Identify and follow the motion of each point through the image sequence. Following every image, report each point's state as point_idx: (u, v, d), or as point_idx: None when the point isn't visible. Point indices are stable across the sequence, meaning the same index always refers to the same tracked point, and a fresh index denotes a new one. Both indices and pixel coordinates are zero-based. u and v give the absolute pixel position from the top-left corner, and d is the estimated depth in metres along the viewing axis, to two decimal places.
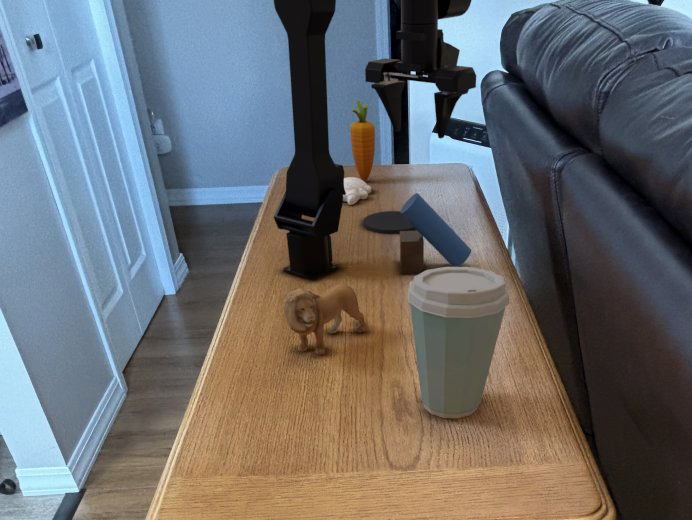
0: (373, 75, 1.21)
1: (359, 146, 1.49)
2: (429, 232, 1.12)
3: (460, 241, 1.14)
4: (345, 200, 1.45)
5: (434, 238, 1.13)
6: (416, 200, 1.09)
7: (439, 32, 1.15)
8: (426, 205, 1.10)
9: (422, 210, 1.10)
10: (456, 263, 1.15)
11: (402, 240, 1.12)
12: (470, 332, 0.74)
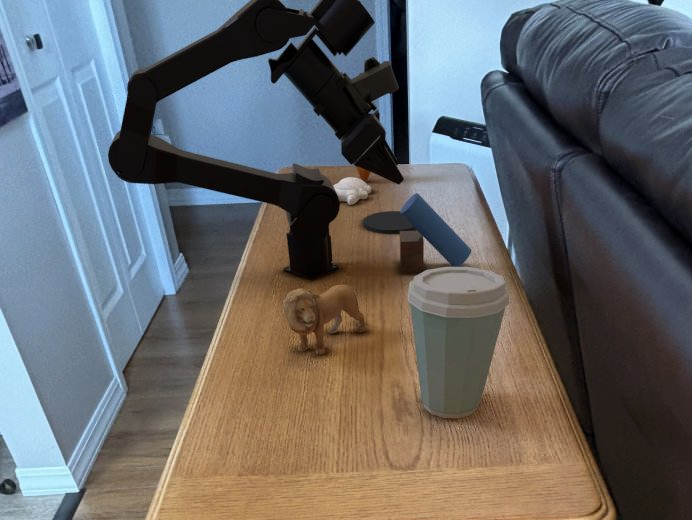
0: None
1: None
2: (429, 232, 1.12)
3: (460, 241, 1.14)
4: (345, 200, 1.45)
5: (434, 238, 1.13)
6: (416, 200, 1.09)
7: (339, 84, 0.99)
8: (426, 205, 1.10)
9: (422, 210, 1.10)
10: (456, 263, 1.15)
11: (402, 240, 1.12)
12: (470, 332, 0.74)
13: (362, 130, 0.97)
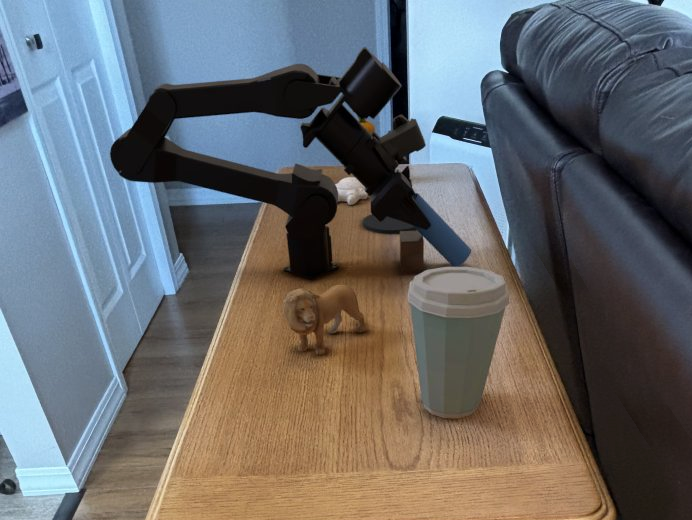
0: None
1: None
2: (429, 232, 1.12)
3: (460, 241, 1.14)
4: (345, 200, 1.45)
5: (434, 238, 1.13)
6: (416, 200, 1.09)
7: (368, 145, 1.03)
8: (426, 205, 1.10)
9: (422, 210, 1.10)
10: (456, 263, 1.15)
11: (402, 240, 1.12)
12: (470, 332, 0.74)
13: (390, 190, 1.01)
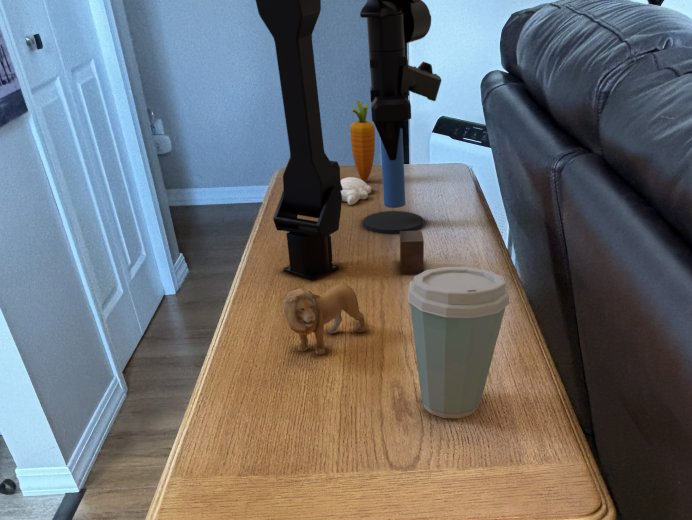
0: None
1: (359, 146, 1.49)
2: (389, 164, 1.26)
3: (403, 190, 1.30)
4: (345, 200, 1.45)
5: (389, 172, 1.27)
6: None
7: (400, 60, 1.16)
8: (402, 143, 1.25)
9: (398, 143, 1.24)
10: (390, 203, 1.30)
11: (402, 240, 1.12)
12: (470, 332, 0.74)
13: (397, 105, 1.14)
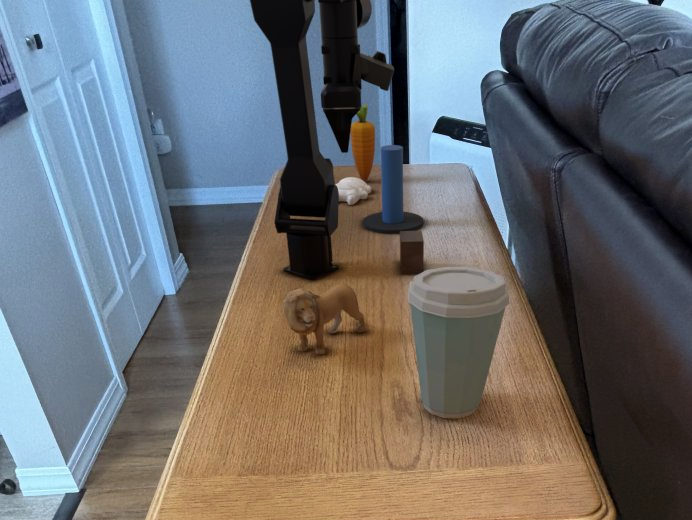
0: None
1: (359, 146, 1.49)
2: (389, 180, 1.28)
3: (402, 207, 1.32)
4: (345, 200, 1.45)
5: (389, 188, 1.29)
6: (399, 150, 1.25)
7: (352, 48, 1.15)
8: (402, 160, 1.27)
9: (398, 161, 1.26)
10: (388, 219, 1.32)
11: (402, 240, 1.12)
12: (470, 332, 0.74)
13: (347, 92, 1.13)
